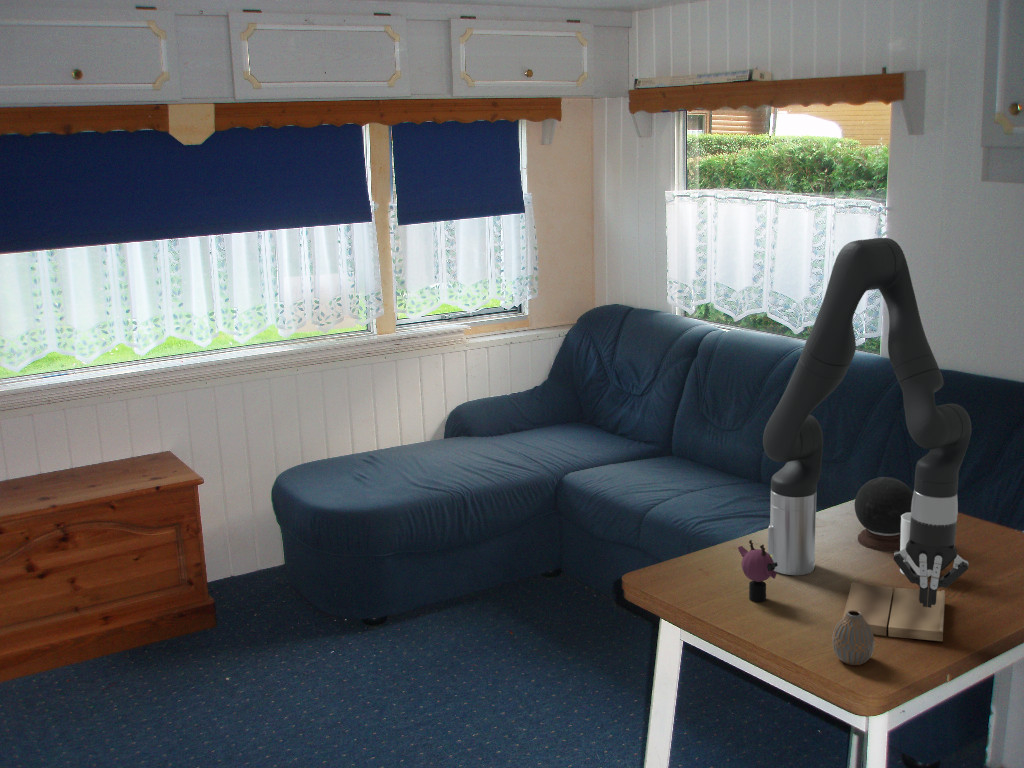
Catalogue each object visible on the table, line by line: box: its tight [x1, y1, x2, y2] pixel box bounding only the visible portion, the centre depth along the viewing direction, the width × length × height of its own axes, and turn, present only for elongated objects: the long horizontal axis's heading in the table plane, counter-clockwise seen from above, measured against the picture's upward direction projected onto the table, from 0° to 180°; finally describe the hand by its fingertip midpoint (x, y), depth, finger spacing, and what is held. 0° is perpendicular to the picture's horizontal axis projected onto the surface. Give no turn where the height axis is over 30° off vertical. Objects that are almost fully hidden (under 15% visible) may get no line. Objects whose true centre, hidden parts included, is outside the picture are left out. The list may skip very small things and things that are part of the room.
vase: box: [831, 610, 876, 666], centre depth 171 cm, size 7×7×9 cm
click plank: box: [887, 587, 946, 642], centre depth 186 cm, size 9×18×2 cm, turn 156°
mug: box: [899, 512, 932, 578], centre depth 206 cm, size 10×7×12 cm, turn 132°
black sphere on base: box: [854, 476, 914, 552], centre depth 222 cm, size 13×13×15 cm
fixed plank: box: [842, 582, 894, 637], centre depth 189 cm, size 8×18×2 cm, turn 156°
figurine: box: [737, 539, 778, 603], centre depth 196 cm, size 8×8×12 cm
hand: (927, 605), depth 180 cm, fingers closed
